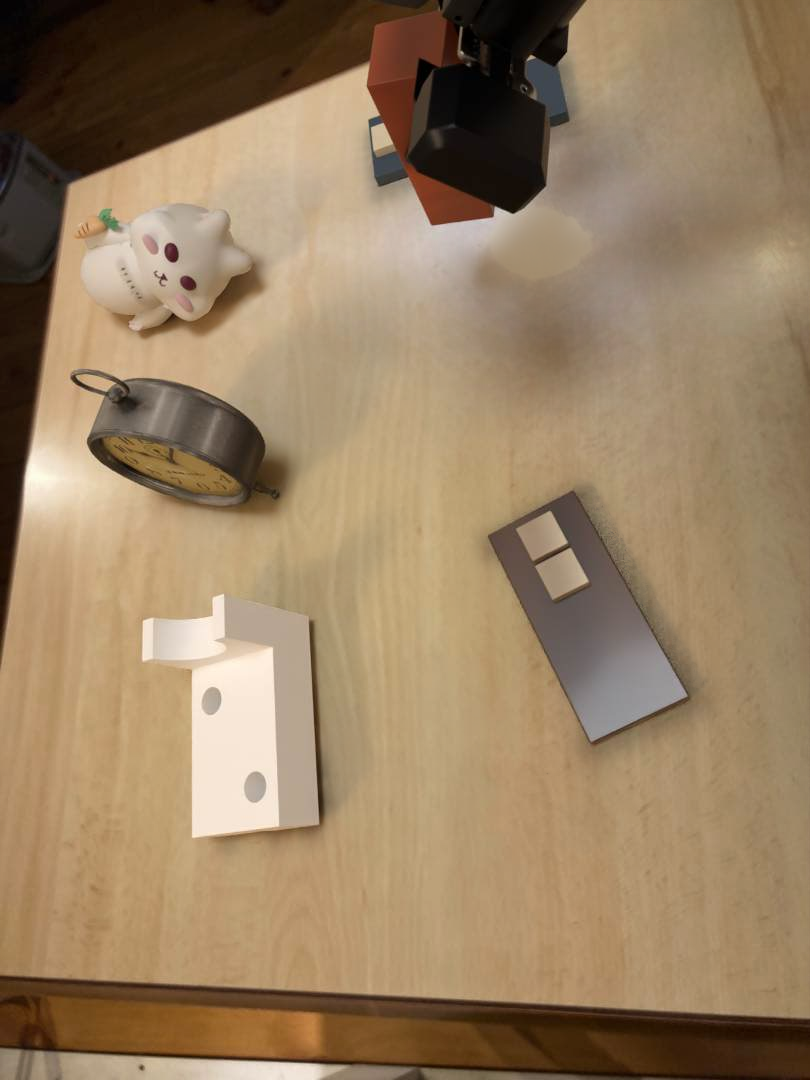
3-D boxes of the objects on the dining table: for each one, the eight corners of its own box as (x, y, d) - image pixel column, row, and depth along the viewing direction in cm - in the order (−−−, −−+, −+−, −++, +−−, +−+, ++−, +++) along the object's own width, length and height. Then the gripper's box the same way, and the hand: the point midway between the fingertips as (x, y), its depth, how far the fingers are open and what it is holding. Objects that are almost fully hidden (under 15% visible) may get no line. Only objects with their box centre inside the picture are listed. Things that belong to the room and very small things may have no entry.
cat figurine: (23, 244, 63) (180, 188, 56) (81, 204, 68) (229, 149, 62) (95, 355, 68) (245, 315, 62) (142, 309, 74) (285, 269, 67)
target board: (556, 61, 63) (552, 41, 62) (569, 121, 61) (565, 101, 60) (372, 128, 68) (364, 111, 66) (378, 186, 65) (370, 170, 64)
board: (575, 495, 52) (571, 484, 51) (690, 699, 46) (689, 694, 45) (490, 540, 53) (483, 531, 52) (592, 745, 47) (588, 742, 46)
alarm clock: (160, 504, 63) (-5, 407, 48) (181, 438, 64) (26, 325, 50) (286, 520, 59) (146, 419, 44) (305, 449, 60) (175, 329, 46)
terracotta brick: (499, 163, 52) (449, 7, 42) (494, 217, 50) (441, 70, 41) (437, 172, 53) (374, 24, 43) (431, 226, 52) (365, 86, 42)
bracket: (230, 639, 58) (142, 620, 52) (308, 616, 55) (223, 593, 49) (234, 835, 54) (138, 840, 48) (319, 824, 50) (227, 828, 44)
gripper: (434, -398, 33) (304, -63, 47) (379, -42, 28) (251, 218, 41) (653, -235, 37) (476, 27, 51) (643, 100, 32) (448, 292, 46)
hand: (416, 131), depth 47 cm, fingers closed on terracotta brick, 4 cm apart
